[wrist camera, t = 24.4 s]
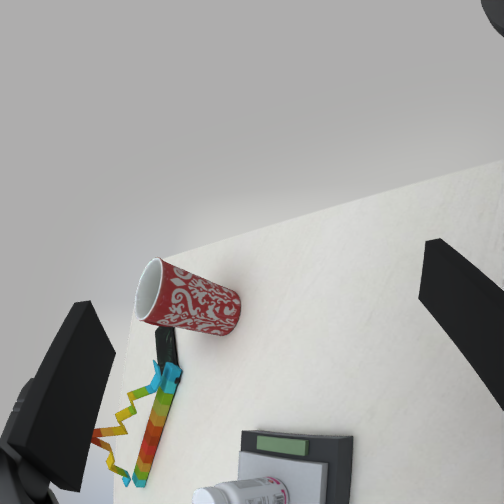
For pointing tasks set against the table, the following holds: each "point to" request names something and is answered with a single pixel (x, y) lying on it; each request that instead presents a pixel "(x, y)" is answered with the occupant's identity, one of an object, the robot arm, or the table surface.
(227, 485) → the pill bottle
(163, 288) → the mug
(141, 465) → the chart
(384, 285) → the table surface
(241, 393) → the table surface
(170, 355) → the smartphone
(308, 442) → the scale
